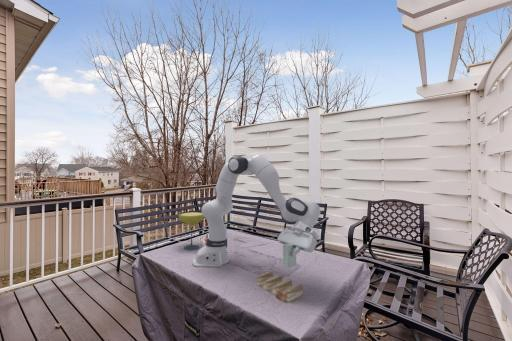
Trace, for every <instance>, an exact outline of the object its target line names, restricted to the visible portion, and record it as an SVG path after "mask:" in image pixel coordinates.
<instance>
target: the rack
mask: <svg viewBox="0 0 512 341" xmlns="http://www.w3.org/2000/svg"><path fill="white" fill-rule="evenodd" d="M256 277H257V278H256V284H257V285H256V286H259V287H260V288H262V289H264V290H266V291H267V292H270V293H271V294H273V295H275V298H276V299H279V301H282V302H288V303H290V302H291V301H293V300H295V299H297V298H299V297H301V296H303V293H304V292H303V287H304V285H303V284H300V283H299V284H297V285H295V286H293V280H292V279H291V278H289V279H286V280H284V281H283V275H281V274H279V275H276V276H274V271H272V270H269V271H266V272H263V273H261V274H259V275H257V276H256Z"/></svg>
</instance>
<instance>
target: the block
mask: <svg viewBox="0 0 512 341" xmlns="http://www.w3.org/2000/svg"><path fill="white" fill-rule="evenodd" d="M295 250H296V246H295V245H294V244H291V243H288V244H285V245H284V244H282V267H284V268H285V269H290V268H292V267H294V266H296V265H297V254H296V255H295V257H293V256H291V252H292V251H295Z"/></svg>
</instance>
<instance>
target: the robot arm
mask: <svg viewBox="0 0 512 341" xmlns="http://www.w3.org/2000/svg"><path fill="white" fill-rule="evenodd" d="M248 175H249V176H251V175H254V176H255V177H256V178H257V179H258V181H259V182H260V183H261V185H262V186H263V188H264V190H265V191H267V193H268V195H269V197H270V198H271V199H272V201H273V202H274V204H275V206H276V207H277V209H278V210H279V213H280V217H281V219H282V221H283V222H284V223H286V224H287V225H293V227H290V226H288V227H285V228H283V230H282V231H281V232H280V233H279V235H278V236H277V242H278V243H280V244H281V245H285V244H288V243H291V244H294V245H295V246H296V250H295V251H292V252H291V256H293V257H295V255H296V256H297V254H299V253H300V252H301V251H304V252H307V253H309V254H312V252H314V251H315V248H316V247H317V244H318V242H317V241H318V240H319V235H318V233H317V232H316V231H315V229H314V226H315V225H316V224H317V222H318V220H319V217H320V215H321V210H322V209H321V207H320V205H319V204H318V203H317V202H315V201H313V200H307V201H306V200H302V199H299V198H297V197H289V198H288V199H286V197H285V196H284V194H283V193H282V192H281V191H282V190H281V186H280V176H279V173H278V170H277V169H276V168H275V166H274V165H273V164H272V163H271V162H270V161H269V160H268V159H267V158H266V157H265V156H264V155H263V154H255V155H254V156H252V157H250V156H246V155H243V156H242V155H235V156H231V157H230V158H229V159H228V162H226V163H224V164H223V167H222V168H221V171H220V173H219V176H218V179H217V183H216V185H215V188H214V190H215V192H216V198H215V199H213V200H209V201H207V202H206V203H204V204H203V205H202V208H201V212H202V214H203V216H204V219H206V222H207V224H208V238H207V237H206V238H204V244H205V245H203V246H202V247H201V248H200V249H199V248H198V249H199V250H198V249H197V250H198V251H197V252H196V256H195V257H194V258H193V259H192V265H193V267H196V268H198V267H199V268H200V267H201V268H202V267H203V268H204V267H206V268H211V267H212V268H213V267H215V268H218V267H219V268H220V267H222V266H223V265H225V264H228V263H229V262H230V261H229V260H230V259H229V254H228V235H227V229H228V228H227V224H225V222H224V218H223V216H225V215H226V216H227V215H228V214H229V213H230V212H232V210H233V209H234V208H233V207H234V205H233V204H234V203H233V201H232V200H233V198H232V197H233V194H234V190H235V187H236V184H237V180H238V177H239V176H248Z"/></svg>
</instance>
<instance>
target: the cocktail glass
mask: <svg viewBox="0 0 512 341" xmlns="http://www.w3.org/2000/svg"><path fill="white" fill-rule="evenodd" d="M204 219H205V217H204V216H203V214H202V211H198V210H197V211H196V210H195V211H194V210H191V211H183V212H180V213H179V214H178V220H179V221H180V222H182V223H184V224H186V225H188V226H189V227H190V244H188V245H185V246H183V249H184V250H185V249H186V251H193V250H198V249H199V248H200V246H199V245H197V244H193V227H195V225H196V224H198V223H200V222H202V221H203V220H204Z"/></svg>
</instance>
